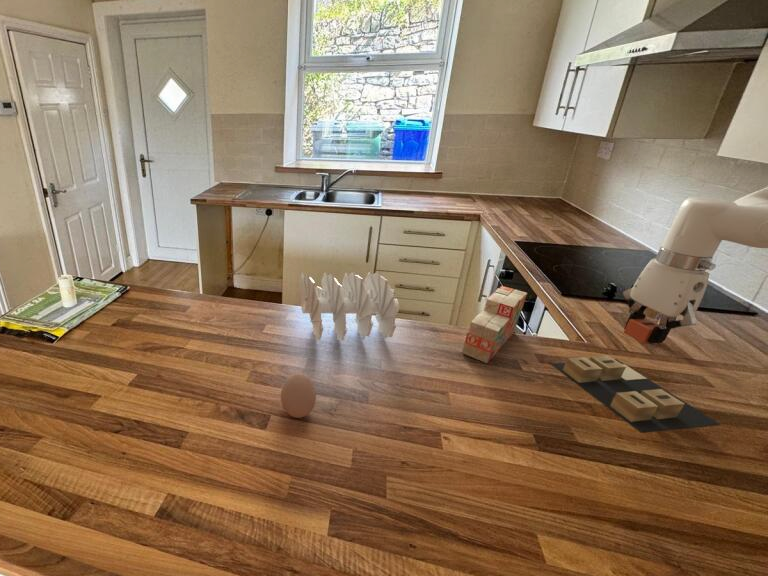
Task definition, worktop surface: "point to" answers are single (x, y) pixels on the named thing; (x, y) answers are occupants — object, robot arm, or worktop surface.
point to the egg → (298, 395)
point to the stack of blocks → (494, 324)
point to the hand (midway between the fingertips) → (642, 335)
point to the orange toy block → (640, 329)
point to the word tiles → (624, 402)
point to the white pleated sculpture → (350, 303)
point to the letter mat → (639, 383)
